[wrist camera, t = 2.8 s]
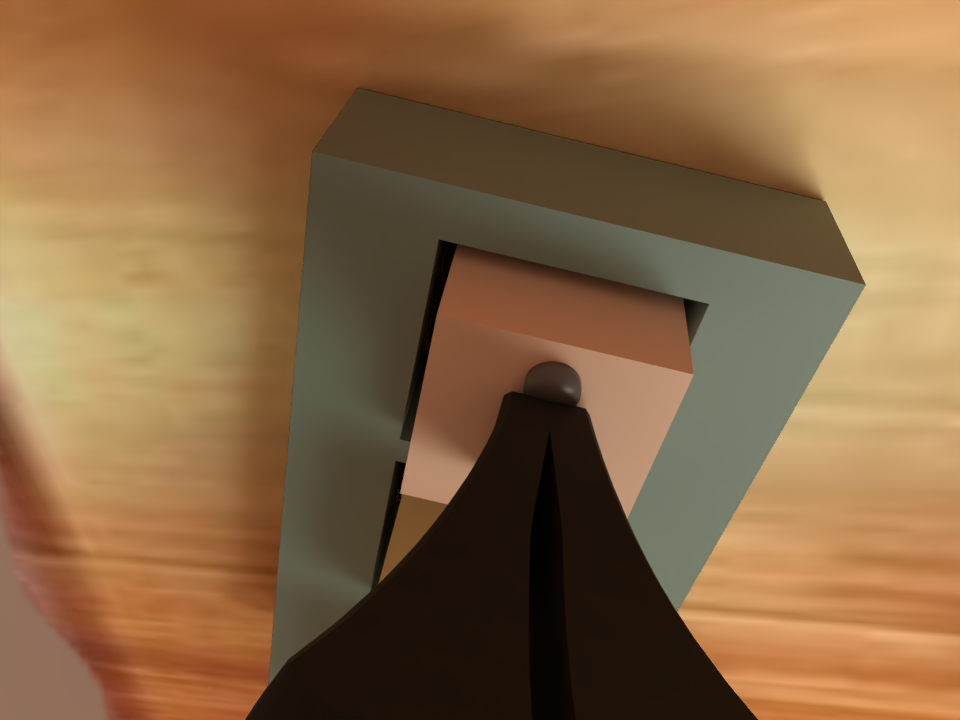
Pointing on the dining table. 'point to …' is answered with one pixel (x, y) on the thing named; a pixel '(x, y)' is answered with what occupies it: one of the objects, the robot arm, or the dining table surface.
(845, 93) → the dining table surface
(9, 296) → the dining table surface
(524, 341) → the toy block
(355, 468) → the toy block sorting board
